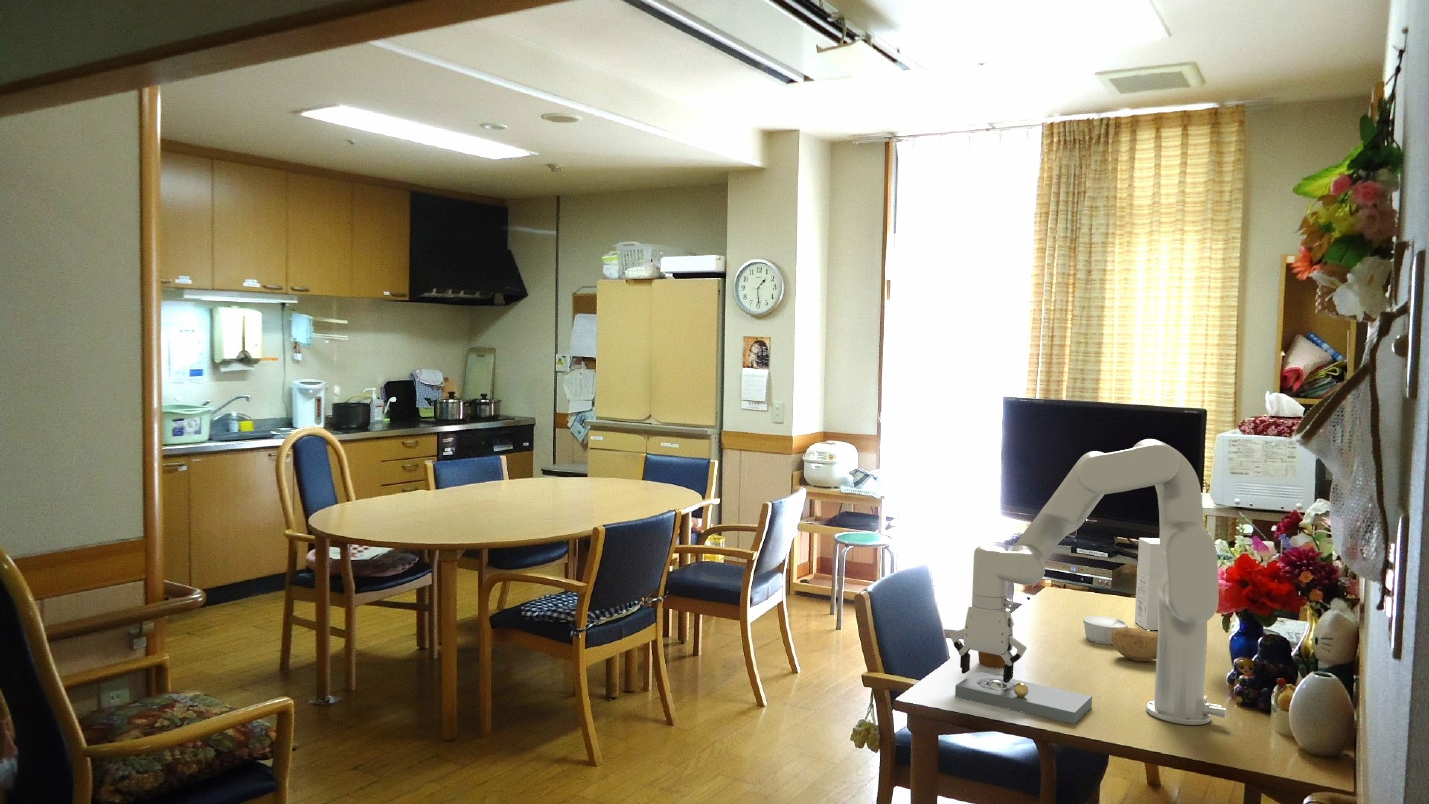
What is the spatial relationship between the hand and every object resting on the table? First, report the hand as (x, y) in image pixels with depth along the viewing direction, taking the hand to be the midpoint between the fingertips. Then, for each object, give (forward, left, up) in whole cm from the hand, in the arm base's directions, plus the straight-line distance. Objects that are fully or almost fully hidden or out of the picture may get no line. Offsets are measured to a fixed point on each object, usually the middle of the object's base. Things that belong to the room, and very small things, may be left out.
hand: (986, 676), depth 224 cm
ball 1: (-2, 0, -2) cm, 3 cm away
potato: (-22, -51, -4) cm, 55 cm away
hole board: (-9, 0, -4) cm, 9 cm away
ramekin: (-10, -64, -4) cm, 65 cm away
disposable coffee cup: (+6, -22, -4) cm, 23 cm away
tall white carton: (-18, -88, -4) cm, 90 cm away
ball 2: (-10, +4, 0) cm, 11 cm away
